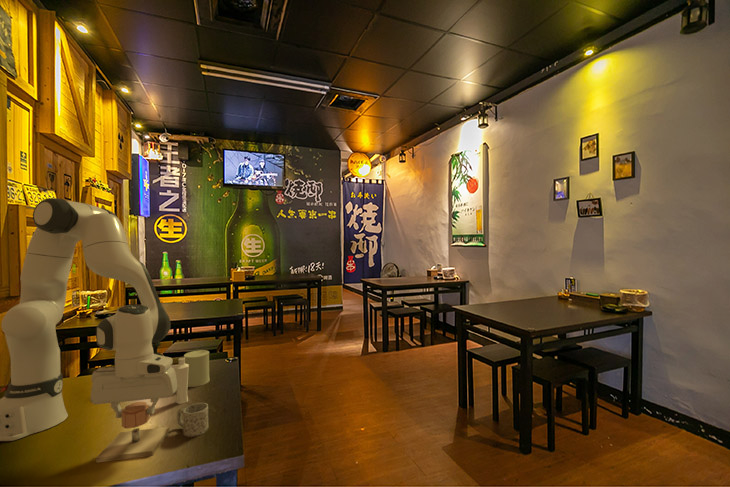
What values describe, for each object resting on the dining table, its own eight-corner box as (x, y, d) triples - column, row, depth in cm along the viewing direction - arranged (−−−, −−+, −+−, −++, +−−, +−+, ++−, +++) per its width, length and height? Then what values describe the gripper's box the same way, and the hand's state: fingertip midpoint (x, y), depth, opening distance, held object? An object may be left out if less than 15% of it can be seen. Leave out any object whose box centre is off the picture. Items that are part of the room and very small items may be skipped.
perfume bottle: (183, 404, 116) (183, 361, 116) (172, 403, 117) (172, 360, 117) (193, 398, 121) (192, 356, 121) (182, 397, 122) (181, 356, 122)
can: (214, 380, 137) (214, 351, 137) (192, 389, 129) (192, 357, 129) (201, 376, 142) (200, 347, 142) (179, 384, 134) (178, 353, 134)
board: (96, 462, 86) (96, 457, 86) (120, 436, 97) (120, 432, 97) (152, 455, 88) (152, 450, 88) (169, 430, 100) (169, 426, 100)
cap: (118, 429, 89) (117, 412, 89) (129, 418, 95) (128, 402, 95) (143, 426, 91) (142, 409, 91) (152, 415, 96) (152, 399, 96)
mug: (213, 426, 102) (213, 404, 102) (196, 438, 96) (196, 414, 96) (186, 421, 105) (186, 400, 105) (168, 433, 99) (168, 410, 99)
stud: (130, 443, 92) (130, 432, 92) (133, 439, 93) (133, 428, 93) (137, 442, 92) (137, 431, 92) (140, 438, 94) (140, 428, 94)
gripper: (84, 372, 88) (85, 426, 88) (170, 365, 92) (171, 416, 92) (98, 364, 94) (99, 414, 94) (178, 358, 98) (179, 405, 98)
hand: (135, 415), depth 93 cm, fingers closed on cap, 6 cm apart
